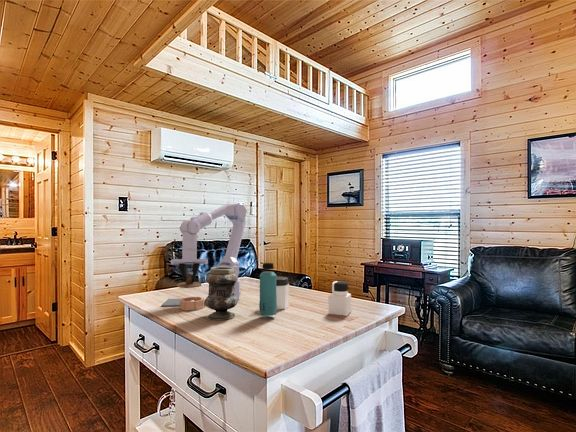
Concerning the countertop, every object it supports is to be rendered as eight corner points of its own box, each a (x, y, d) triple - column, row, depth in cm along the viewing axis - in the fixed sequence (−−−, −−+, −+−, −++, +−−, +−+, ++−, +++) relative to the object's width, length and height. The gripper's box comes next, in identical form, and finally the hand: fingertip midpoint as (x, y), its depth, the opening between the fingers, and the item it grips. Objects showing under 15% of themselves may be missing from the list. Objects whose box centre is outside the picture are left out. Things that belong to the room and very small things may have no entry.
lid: (202, 283, 141) (202, 273, 142) (199, 287, 132) (199, 276, 132) (179, 284, 140) (179, 273, 140) (174, 288, 131) (174, 277, 131)
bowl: (205, 304, 139) (205, 296, 139) (202, 310, 130) (202, 301, 130) (182, 305, 138) (182, 296, 138) (177, 311, 129) (178, 302, 129)
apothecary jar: (244, 315, 124) (244, 266, 124) (223, 323, 113) (223, 270, 114) (219, 310, 130) (220, 264, 130) (197, 318, 119) (197, 268, 120)
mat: (195, 299, 149) (195, 298, 149) (190, 306, 137) (190, 304, 137) (168, 300, 147) (168, 298, 148) (161, 306, 136) (161, 305, 136)
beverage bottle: (279, 316, 122) (279, 262, 123) (272, 321, 116) (273, 264, 117) (263, 314, 125) (263, 261, 125) (256, 319, 118) (256, 263, 119)
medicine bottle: (351, 311, 129) (351, 280, 129) (346, 316, 123) (346, 283, 123) (333, 309, 132) (333, 279, 132) (328, 314, 126) (328, 282, 126)
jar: (293, 307, 135) (293, 278, 135) (277, 310, 130) (277, 280, 130) (279, 303, 142) (279, 275, 142) (264, 306, 137) (264, 277, 137)
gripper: (169, 249, 132) (168, 283, 131) (206, 249, 133) (206, 283, 133) (173, 248, 139) (172, 280, 138) (208, 248, 140) (208, 280, 140)
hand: (189, 281), depth 136 cm, fingers closed on lid, 3 cm apart
